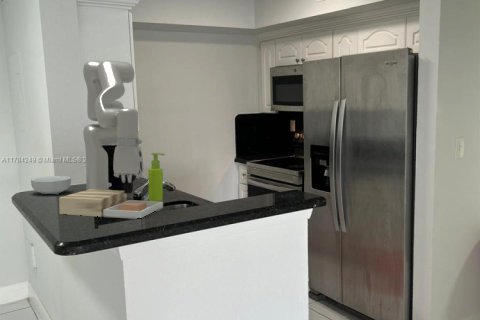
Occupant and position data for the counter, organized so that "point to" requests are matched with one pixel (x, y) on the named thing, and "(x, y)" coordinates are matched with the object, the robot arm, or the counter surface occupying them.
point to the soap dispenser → (156, 180)
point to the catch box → (118, 213)
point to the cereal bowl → (51, 184)
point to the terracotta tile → (133, 206)
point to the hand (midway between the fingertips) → (128, 192)
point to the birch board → (90, 202)
